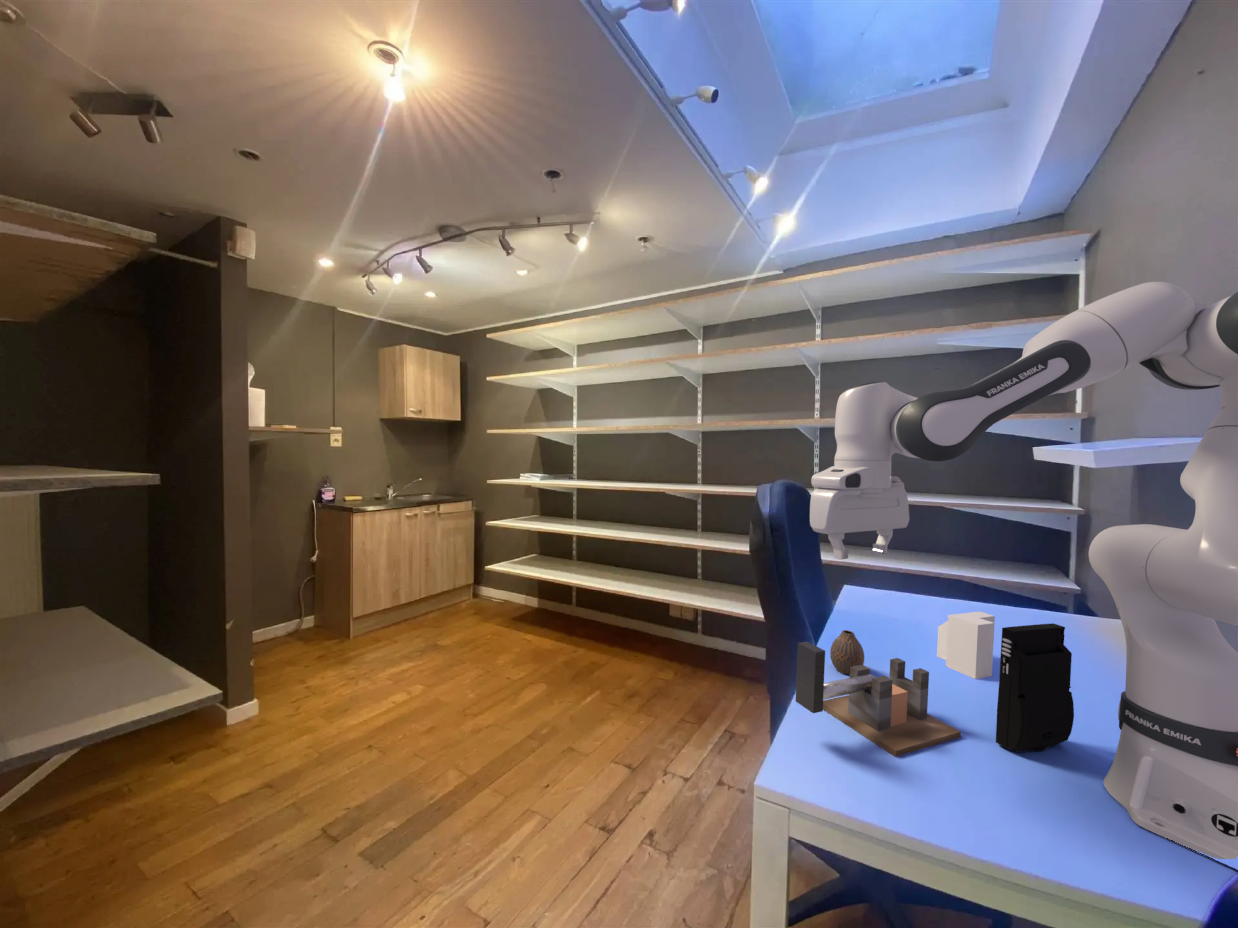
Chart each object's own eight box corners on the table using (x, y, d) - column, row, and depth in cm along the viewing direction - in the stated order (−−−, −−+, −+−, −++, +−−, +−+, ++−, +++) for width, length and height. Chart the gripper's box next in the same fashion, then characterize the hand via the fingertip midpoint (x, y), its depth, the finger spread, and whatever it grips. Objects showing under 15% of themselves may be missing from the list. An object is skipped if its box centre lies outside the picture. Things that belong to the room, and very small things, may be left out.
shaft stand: (960, 737, 83) (963, 682, 83) (895, 756, 77) (898, 698, 77) (879, 693, 98) (881, 646, 98) (819, 706, 92) (821, 657, 92)
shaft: (880, 697, 84) (883, 640, 84) (813, 713, 78) (815, 652, 78) (861, 687, 88) (863, 632, 87) (795, 701, 82) (797, 642, 81)
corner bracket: (975, 679, 106) (977, 625, 105) (926, 657, 116) (929, 608, 116) (1007, 673, 109) (1010, 620, 109) (957, 653, 120) (960, 605, 120)
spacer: (906, 722, 86) (907, 691, 85) (890, 726, 84) (892, 695, 84) (879, 706, 91) (880, 677, 90) (864, 710, 89) (865, 681, 89)
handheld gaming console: (1044, 734, 85) (1050, 621, 84) (1074, 750, 80) (1081, 631, 80) (991, 743, 82) (997, 626, 81) (1020, 760, 77) (1026, 636, 77)
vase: (831, 674, 106) (833, 635, 105) (827, 661, 112) (829, 624, 112) (866, 680, 104) (868, 639, 103) (860, 666, 110) (862, 628, 110)
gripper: (887, 475, 91) (886, 548, 91) (803, 477, 82) (802, 557, 83) (919, 476, 85) (918, 555, 85) (833, 478, 77) (832, 565, 77)
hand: (860, 556), depth 84 cm, fingers open, 8 cm apart
